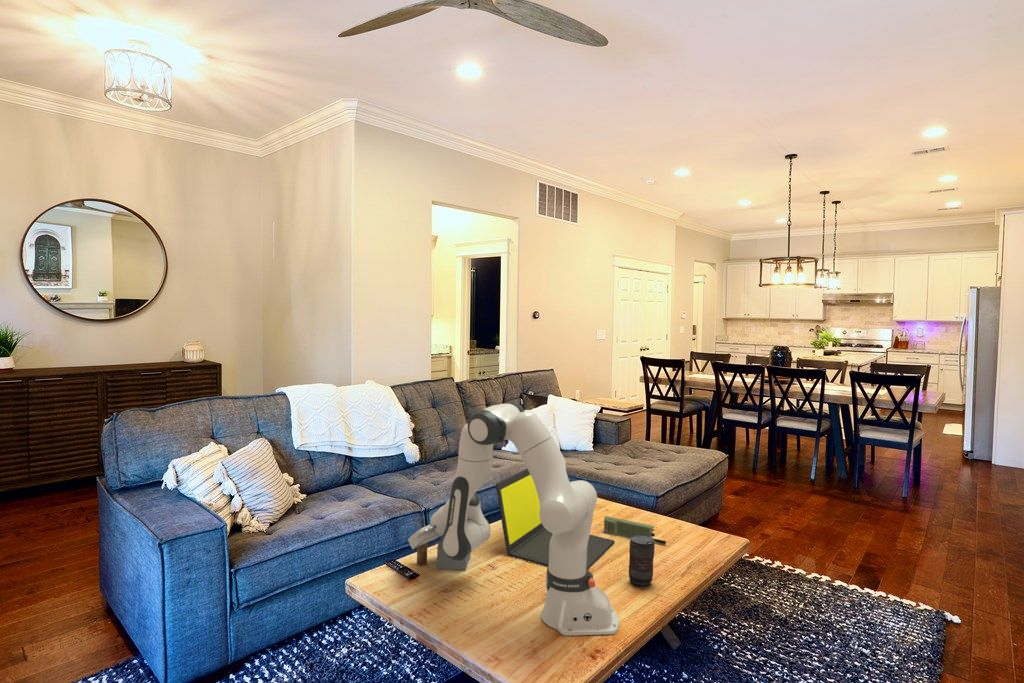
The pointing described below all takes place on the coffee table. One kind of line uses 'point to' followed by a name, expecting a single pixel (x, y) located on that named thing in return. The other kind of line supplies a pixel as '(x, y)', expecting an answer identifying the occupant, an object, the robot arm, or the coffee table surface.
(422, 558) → the walnut peg
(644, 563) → the camera lens
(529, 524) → the laptop
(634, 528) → the handheld radio
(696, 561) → the coffee table surface
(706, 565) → the coffee table surface
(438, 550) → the socket block
